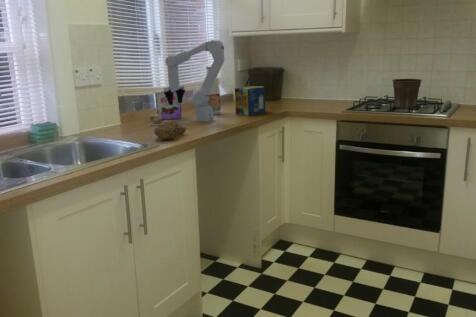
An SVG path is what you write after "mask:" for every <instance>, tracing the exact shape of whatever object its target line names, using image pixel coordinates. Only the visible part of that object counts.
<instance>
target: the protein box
mask: <svg viewBox="0 0 476 317" xmlns="http://www.w3.org/2000/svg"><path fill="white" fill-rule="evenodd" d="M265 87H266V86H260V85H259V86H257V85H250V86H249V85H248V86H242V87H236V88H234V100H235V101H234V102H235V104H234V105H235V115H238V116H246V117H247V116H248V117H249V116H254V115H260V114H265V113H266V88H265Z"/></svg>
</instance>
